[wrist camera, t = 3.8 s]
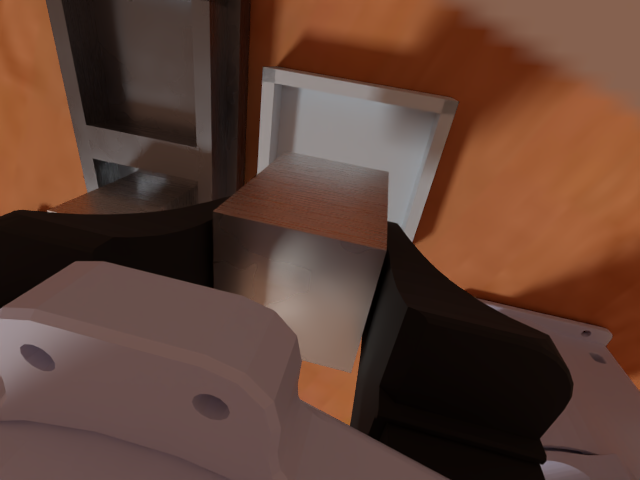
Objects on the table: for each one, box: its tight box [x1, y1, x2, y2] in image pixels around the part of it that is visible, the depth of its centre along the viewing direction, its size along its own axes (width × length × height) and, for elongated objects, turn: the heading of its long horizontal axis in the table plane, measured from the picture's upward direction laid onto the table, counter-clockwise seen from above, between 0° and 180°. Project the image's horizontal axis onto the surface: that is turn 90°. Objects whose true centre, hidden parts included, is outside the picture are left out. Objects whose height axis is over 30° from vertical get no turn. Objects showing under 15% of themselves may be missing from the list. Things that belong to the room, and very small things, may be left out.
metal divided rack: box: [46, 0, 250, 204], centre depth 19 cm, size 9×16×3 cm, turn 171°
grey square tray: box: [257, 66, 459, 242], centre depth 18 cm, size 9×9×2 cm
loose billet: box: [213, 151, 389, 373], centre depth 11 cm, size 4×4×6 cm
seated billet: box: [47, 172, 197, 214], centre depth 18 cm, size 4×4×6 cm
